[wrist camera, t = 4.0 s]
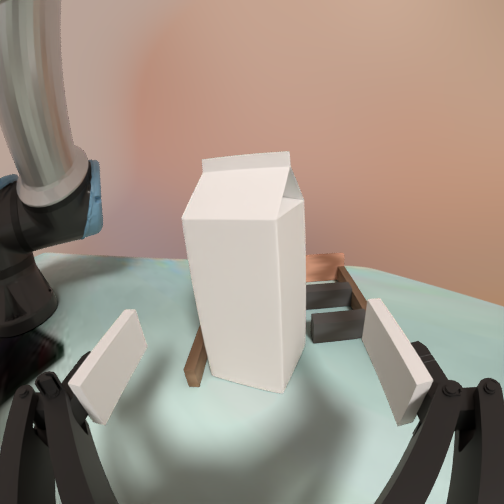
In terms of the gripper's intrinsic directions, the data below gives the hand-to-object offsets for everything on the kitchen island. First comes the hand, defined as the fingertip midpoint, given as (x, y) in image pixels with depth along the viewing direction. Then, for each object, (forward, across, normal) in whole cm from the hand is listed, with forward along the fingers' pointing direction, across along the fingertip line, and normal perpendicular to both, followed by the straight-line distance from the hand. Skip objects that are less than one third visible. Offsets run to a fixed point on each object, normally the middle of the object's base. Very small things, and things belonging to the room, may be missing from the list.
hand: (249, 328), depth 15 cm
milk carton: (+8, 0, -10) cm, 13 cm away
